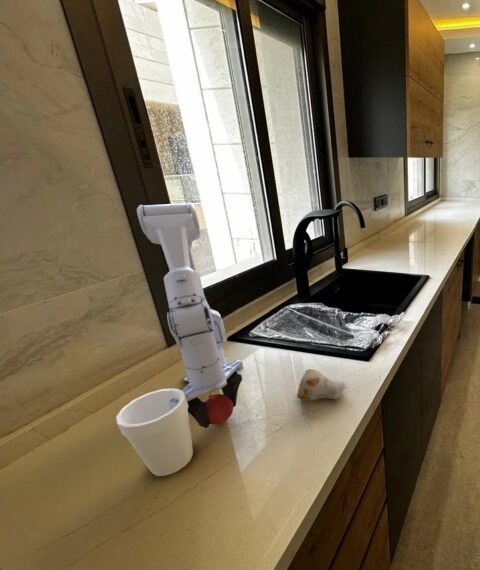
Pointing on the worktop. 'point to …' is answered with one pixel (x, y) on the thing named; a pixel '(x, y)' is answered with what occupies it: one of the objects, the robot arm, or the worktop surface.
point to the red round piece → (218, 408)
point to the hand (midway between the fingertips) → (218, 415)
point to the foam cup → (158, 430)
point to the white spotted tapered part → (317, 386)
